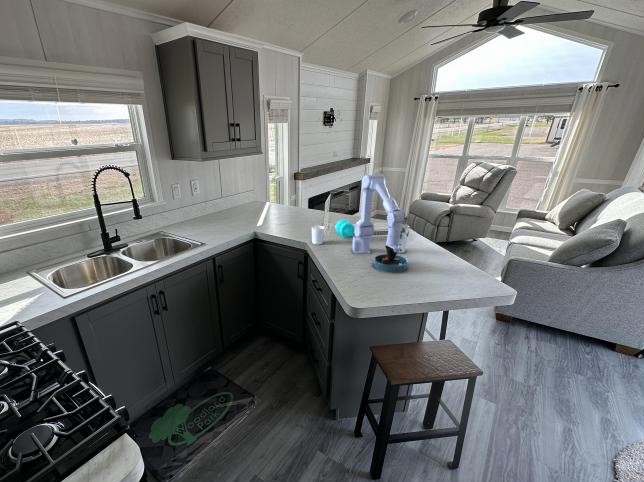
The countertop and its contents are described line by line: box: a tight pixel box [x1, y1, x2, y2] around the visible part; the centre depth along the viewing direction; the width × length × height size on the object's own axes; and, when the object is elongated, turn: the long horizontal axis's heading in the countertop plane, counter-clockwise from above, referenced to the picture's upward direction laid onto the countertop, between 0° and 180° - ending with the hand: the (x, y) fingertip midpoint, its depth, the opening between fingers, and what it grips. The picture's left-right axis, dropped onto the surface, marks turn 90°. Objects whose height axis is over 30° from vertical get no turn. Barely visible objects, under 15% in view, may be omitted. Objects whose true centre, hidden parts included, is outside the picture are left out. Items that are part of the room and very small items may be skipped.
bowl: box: [373, 253, 409, 273], centre depth 168 cm, size 16×16×4 cm
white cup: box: [311, 225, 326, 245], centre depth 203 cm, size 8×8×10 cm
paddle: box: [382, 258, 399, 264], centre depth 166 cm, size 8×2×2 cm, turn 86°
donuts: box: [335, 219, 355, 238], centre depth 214 cm, size 10×10×10 cm
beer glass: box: [398, 223, 410, 254], centre depth 185 cm, size 7×7×15 cm
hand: (390, 260), depth 165 cm, fingers closed on paddle, 2 cm apart
